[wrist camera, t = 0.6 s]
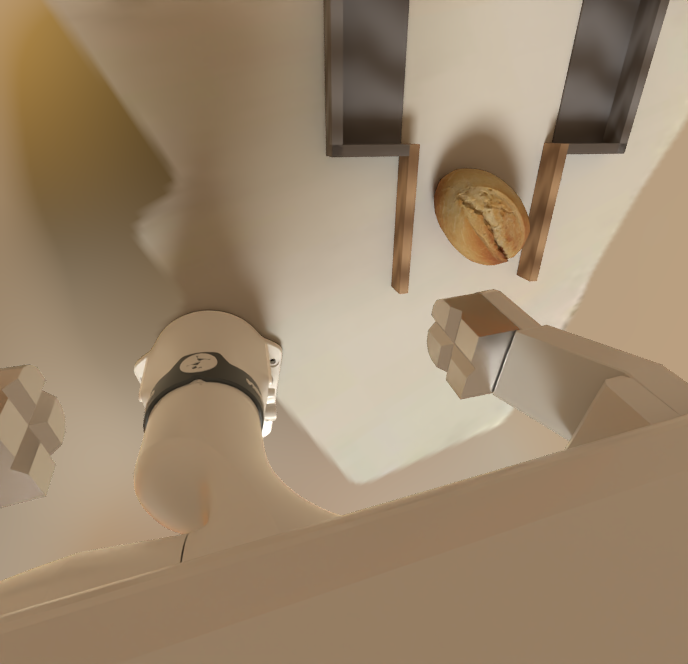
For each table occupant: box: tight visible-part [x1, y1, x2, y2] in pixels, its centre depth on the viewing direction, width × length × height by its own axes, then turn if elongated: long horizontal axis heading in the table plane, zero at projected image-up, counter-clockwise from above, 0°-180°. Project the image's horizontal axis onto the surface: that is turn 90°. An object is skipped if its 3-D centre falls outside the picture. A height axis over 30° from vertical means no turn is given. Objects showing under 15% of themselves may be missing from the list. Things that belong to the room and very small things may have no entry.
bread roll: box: [434, 168, 530, 265], centre depth 50 cm, size 10×15×8 cm, turn 52°
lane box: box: [324, 0, 669, 294], centre depth 45 cm, size 47×39×5 cm
